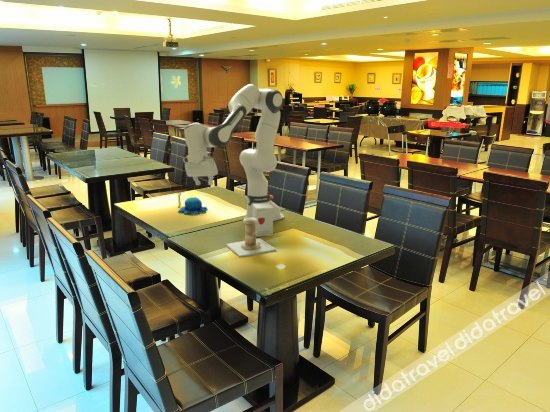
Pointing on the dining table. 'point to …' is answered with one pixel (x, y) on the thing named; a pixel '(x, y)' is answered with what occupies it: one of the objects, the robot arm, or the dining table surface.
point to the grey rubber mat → (242, 252)
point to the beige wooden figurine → (250, 235)
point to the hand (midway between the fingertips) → (204, 184)
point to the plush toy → (193, 207)
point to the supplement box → (263, 219)
